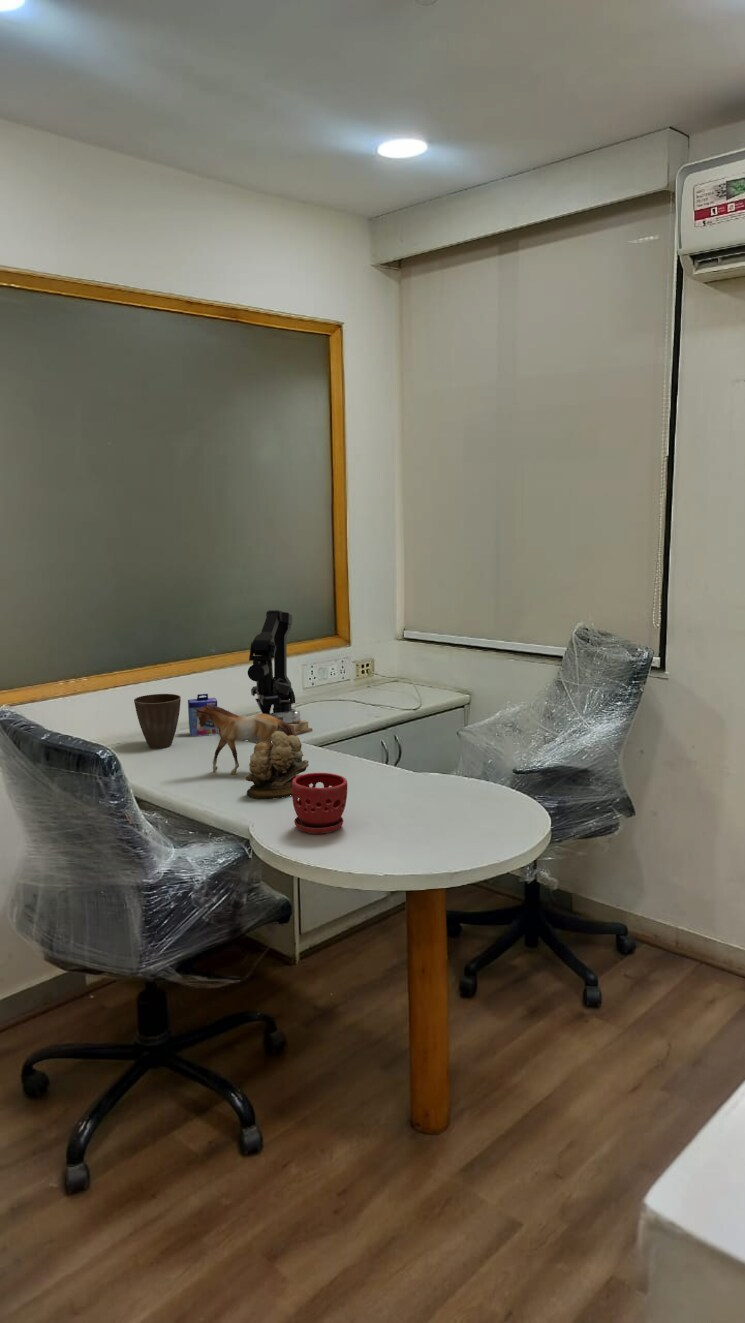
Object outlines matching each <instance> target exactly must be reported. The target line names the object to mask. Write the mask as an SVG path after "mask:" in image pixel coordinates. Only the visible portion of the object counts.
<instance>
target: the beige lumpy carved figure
mask: <svg viewBox="0 0 745 1323" xmlns="http://www.w3.org/2000/svg"><path fill="white" fill-rule="evenodd" d="M271 741H272V744H273V748H272V749H271V747H270V746H269V745H267V744H266V743H258V744H257V743H255V745H254V747H253V753H252V754H251V755H250V759H249V764H248V766H249V767H248V769H249V771H250V773H247V774H246V775H245V778H244V779H245V780H246V781H247V782H252V783H253V785H251V786H250V787H249V788H248V789H247V791H246V796H247V797H249V798H251V799H253V800H274V799H273V798H278V799H283V798H282V797H285V798H287V797H286V796H290V795H292V781H293V779H294V778H295V777H297V776H298V775H299V774H301V773H304V772H306V771H307V768H308V767H309V760H308V759H307V760H306V759H303V756H302V754H303V751H302V742H301V740H300V738H299V737H298V735H297V736H294V735H290V736H287V735H286V734H285V733H284V732H280V731H276V732H274V733H273V734H272V736H271ZM303 755H304V754H303ZM302 786H305V785H302ZM290 797H291V796H290Z"/></svg>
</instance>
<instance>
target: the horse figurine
mask: <svg viewBox="0 0 745 1323" xmlns="http://www.w3.org/2000/svg"><path fill="white" fill-rule="evenodd" d="M194 709H195V710H197V711H196V716H197V729H198V730H199V731H202V730H203V729H204V725H205V724H206V722H207V721H208V720H209V719H211V720H212V721H213V723H214V724H215V726H216V727H217V728H218V733H219V734H218V735H219V737H220V739H219V742H218V745H217V747H216V749H215V752H214V757H213V760H212V771H213V772H214V773H215V772H217V770H218V768H219V767H218V765H217V760H218V755H219V754H220V752H221V750H223V748H224V747H225V746H226V745H227V746H228V748H229V749H230V751H231V754H232V757H233V760H234V764H235V766H234V767H233V769H232V770H231V772H230V775H236V774H237V773H238V768H239V767H240V764H239V760H238V753H237V752H238V751H237V747H236V743H235V742H236V741H244V740H247V739H252V738H254V737H258V739H259V740H260V741H261V742H262V743H266V744H267V745H269V746H270V747H271V749H272V748H273V743H271V742H270V739H271V736H272V734H273V733H274V732H276V731H280V728H281V729H283V731H284V733H285V734H286V735H287V736H290V735H294V736H296V734H295V732H294V731H293V729H292V728H291V727H290V725H288V724H287V723H285V722H284V721H282V720H280V719H277V718H275V717H273V716H271V715H268V714H263V713H262V712H260V713H256V714H257V715H250V716H239V715H238V714H235V713H233V712H231V711H229V710H226V709H225V708H222V707H219V706H218V705H217V706H211V705H207V706H203V707H201V708H194ZM302 757H304V754H302Z"/></svg>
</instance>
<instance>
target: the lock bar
mask: <svg viewBox="0 0 745 1323" xmlns="http://www.w3.org/2000/svg"><path fill="white" fill-rule="evenodd" d="M257 714H258V713H256V714H254V715H257ZM265 714H268V715H271V716H273V717H275V718H278V717H283V721H284V722H285V723H292V722H293V723H297V722H300V720H301V711H300V710H292V711H289V712H277V713H273V712H270V713H265Z"/></svg>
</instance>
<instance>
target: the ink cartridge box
mask: <svg viewBox="0 0 745 1323" xmlns="http://www.w3.org/2000/svg"><path fill="white" fill-rule="evenodd" d="M207 705H211V706H217V707H218V700H217V698H216V697H209V693H203V694H202V693H200V694H199V693H198V694H197V698H193V699H192V698H191V699H190V698H189V699H187V712H188V715H187V716H188V729H189V736H190V737H191V736H193V737H198V736H197V735H205V736H210V735H209V734H218V735H219V731H218V728H217V727H216V726H215V724H214V723H213V721H212V720H211V719H209V720H208V721H207V722H206V724H205V725H204V729H203V730H202V731H199V730H198V729H197V716H196V711H197V710H195V709H194V708H201V707H203V706H207Z"/></svg>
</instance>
